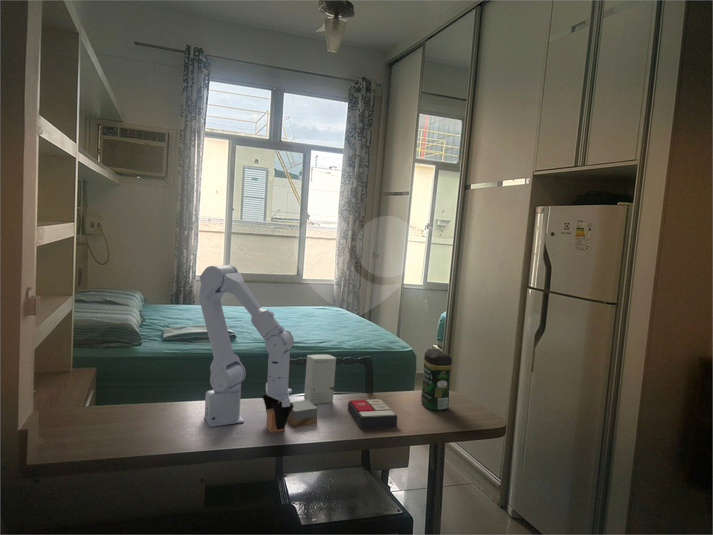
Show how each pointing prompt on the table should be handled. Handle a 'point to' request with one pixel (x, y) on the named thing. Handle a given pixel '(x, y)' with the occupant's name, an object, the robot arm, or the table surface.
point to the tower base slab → (302, 421)
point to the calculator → (372, 414)
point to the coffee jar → (436, 380)
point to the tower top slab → (303, 410)
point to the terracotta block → (271, 421)
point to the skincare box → (320, 378)
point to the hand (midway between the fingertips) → (275, 423)
